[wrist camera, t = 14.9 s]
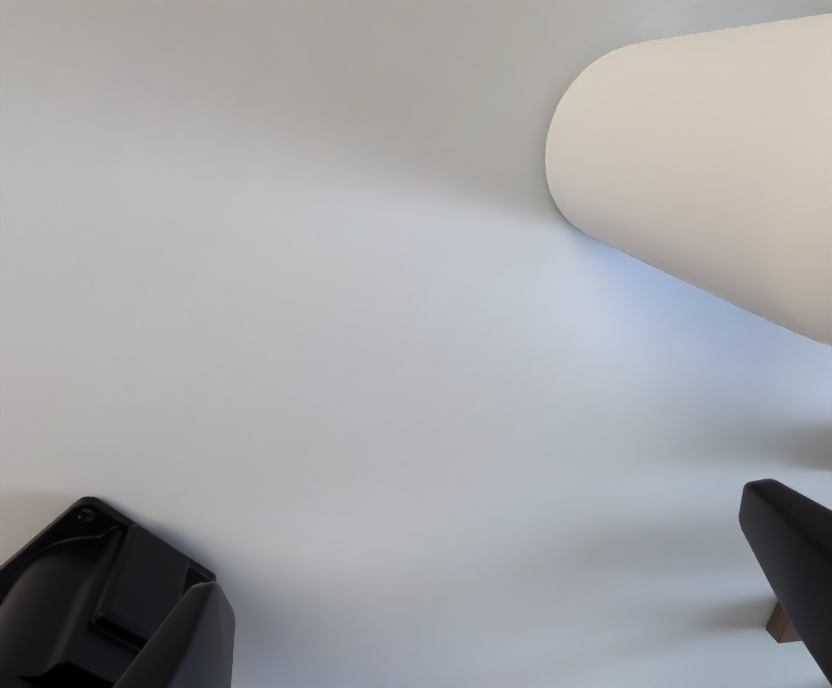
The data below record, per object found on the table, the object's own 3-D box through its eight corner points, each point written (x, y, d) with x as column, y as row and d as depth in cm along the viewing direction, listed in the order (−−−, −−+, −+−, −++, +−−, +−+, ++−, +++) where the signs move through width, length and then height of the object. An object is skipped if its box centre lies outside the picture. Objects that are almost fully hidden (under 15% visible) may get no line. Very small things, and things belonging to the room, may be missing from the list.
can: (740, 146, 21) (1224, 200, 10) (607, 273, 22) (919, 447, 11) (648, -5, 18) (1175, -151, 7) (501, 148, 19) (776, 216, 8)
